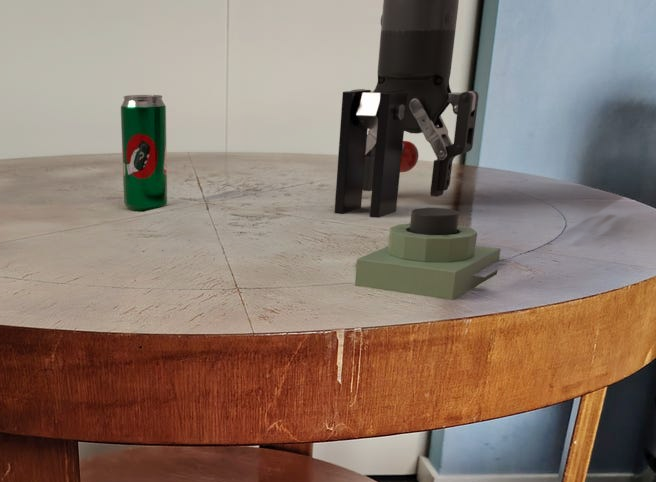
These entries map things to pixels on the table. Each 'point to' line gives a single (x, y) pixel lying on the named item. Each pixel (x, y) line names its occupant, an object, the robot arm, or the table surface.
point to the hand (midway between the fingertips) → (401, 192)
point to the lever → (369, 120)
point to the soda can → (144, 152)
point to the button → (434, 221)
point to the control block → (427, 263)
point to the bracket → (385, 154)
